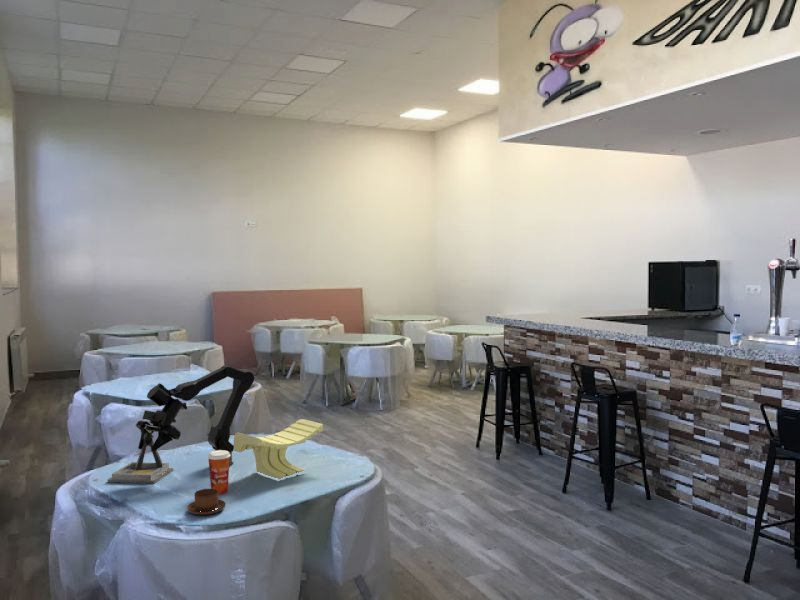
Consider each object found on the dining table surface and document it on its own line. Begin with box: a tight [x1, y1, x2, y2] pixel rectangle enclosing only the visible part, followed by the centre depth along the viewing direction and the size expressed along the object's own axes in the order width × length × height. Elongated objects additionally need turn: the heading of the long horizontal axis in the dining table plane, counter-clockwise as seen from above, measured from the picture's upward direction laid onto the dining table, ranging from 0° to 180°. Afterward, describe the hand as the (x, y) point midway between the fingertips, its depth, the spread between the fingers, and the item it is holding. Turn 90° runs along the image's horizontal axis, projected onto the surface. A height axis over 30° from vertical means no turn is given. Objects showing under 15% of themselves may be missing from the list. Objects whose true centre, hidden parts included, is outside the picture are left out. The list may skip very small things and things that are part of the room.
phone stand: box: [136, 432, 163, 471], centre depth 243 cm, size 9×6×12 cm, turn 110°
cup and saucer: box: [186, 488, 226, 516], centre depth 218 cm, size 12×12×6 cm
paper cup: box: [207, 450, 231, 496], centre depth 236 cm, size 8×8×14 cm
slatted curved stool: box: [233, 418, 324, 479], centre depth 257 cm, size 30×16×18 cm, turn 136°
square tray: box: [106, 461, 174, 485], centre depth 253 cm, size 18×16×3 cm
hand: (145, 450), depth 242 cm, fingers closed on phone stand, 6 cm apart
